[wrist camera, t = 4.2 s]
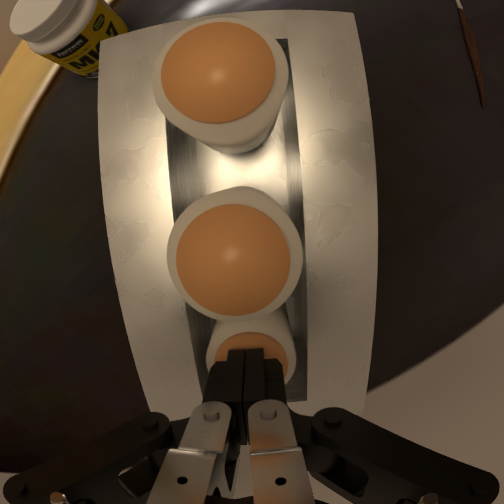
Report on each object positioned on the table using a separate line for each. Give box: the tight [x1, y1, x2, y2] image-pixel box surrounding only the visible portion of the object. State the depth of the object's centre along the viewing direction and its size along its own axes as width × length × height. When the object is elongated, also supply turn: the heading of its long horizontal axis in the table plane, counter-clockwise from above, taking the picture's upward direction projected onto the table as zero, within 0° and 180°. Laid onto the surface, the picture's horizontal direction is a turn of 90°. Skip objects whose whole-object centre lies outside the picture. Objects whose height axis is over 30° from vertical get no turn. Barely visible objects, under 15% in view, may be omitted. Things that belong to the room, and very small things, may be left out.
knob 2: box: [166, 186, 303, 322], centre depth 12 cm, size 4×4×6 cm
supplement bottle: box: [10, 0, 131, 78], centre depth 12 cm, size 5×5×8 cm
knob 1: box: [152, 18, 288, 154], centre depth 10 cm, size 4×4×6 cm
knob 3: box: [206, 302, 296, 384], centre depth 16 cm, size 4×4×6 cm
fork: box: [455, 0, 485, 108], centre depth 14 cm, size 3×16×2 cm, turn 3°
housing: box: [98, 10, 378, 421], centre depth 15 cm, size 12×19×7 cm, turn 5°
